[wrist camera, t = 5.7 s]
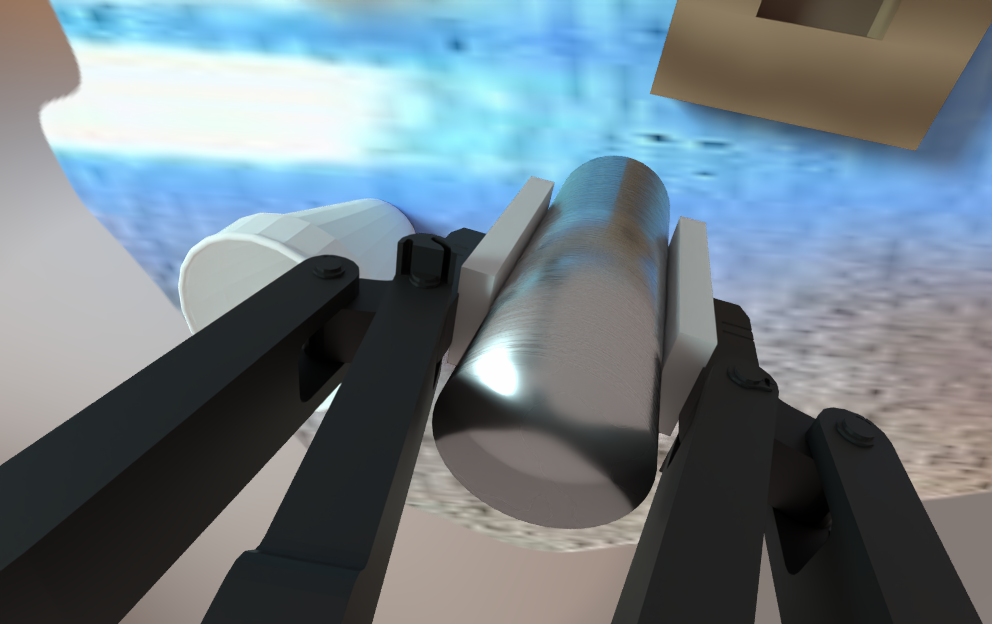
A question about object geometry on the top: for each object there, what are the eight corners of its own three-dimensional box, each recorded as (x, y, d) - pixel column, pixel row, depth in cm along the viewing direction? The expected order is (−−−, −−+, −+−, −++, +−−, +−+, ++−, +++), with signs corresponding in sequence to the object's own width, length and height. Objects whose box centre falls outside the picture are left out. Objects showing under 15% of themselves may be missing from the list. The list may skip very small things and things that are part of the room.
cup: (288, 244, 45) (157, 331, 34) (345, 125, 38) (203, 184, 27) (406, 333, 46) (317, 445, 35) (481, 233, 39) (401, 333, 28)
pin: (571, 142, 18) (444, 326, 9) (687, 172, 18) (694, 405, 8) (546, 245, 21) (422, 484, 11) (648, 274, 20) (616, 555, 10)
